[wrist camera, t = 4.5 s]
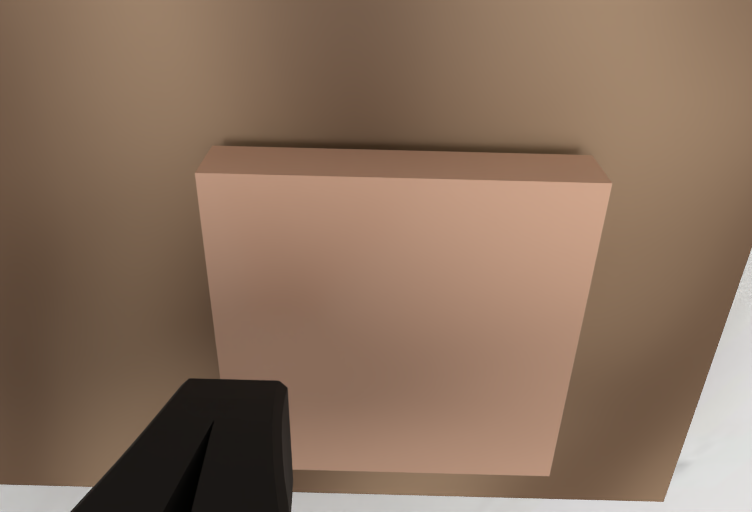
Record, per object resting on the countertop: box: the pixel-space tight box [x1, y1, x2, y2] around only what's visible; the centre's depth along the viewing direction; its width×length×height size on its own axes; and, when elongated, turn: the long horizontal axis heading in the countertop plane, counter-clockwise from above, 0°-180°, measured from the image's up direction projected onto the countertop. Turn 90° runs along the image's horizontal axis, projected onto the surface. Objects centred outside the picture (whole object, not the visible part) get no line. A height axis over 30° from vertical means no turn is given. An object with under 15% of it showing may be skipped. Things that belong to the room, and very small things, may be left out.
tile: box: [195, 146, 612, 476], centre depth 12 cm, size 2×6×6 cm
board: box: [0, 0, 752, 502], centre depth 13 cm, size 16×11×1 cm
